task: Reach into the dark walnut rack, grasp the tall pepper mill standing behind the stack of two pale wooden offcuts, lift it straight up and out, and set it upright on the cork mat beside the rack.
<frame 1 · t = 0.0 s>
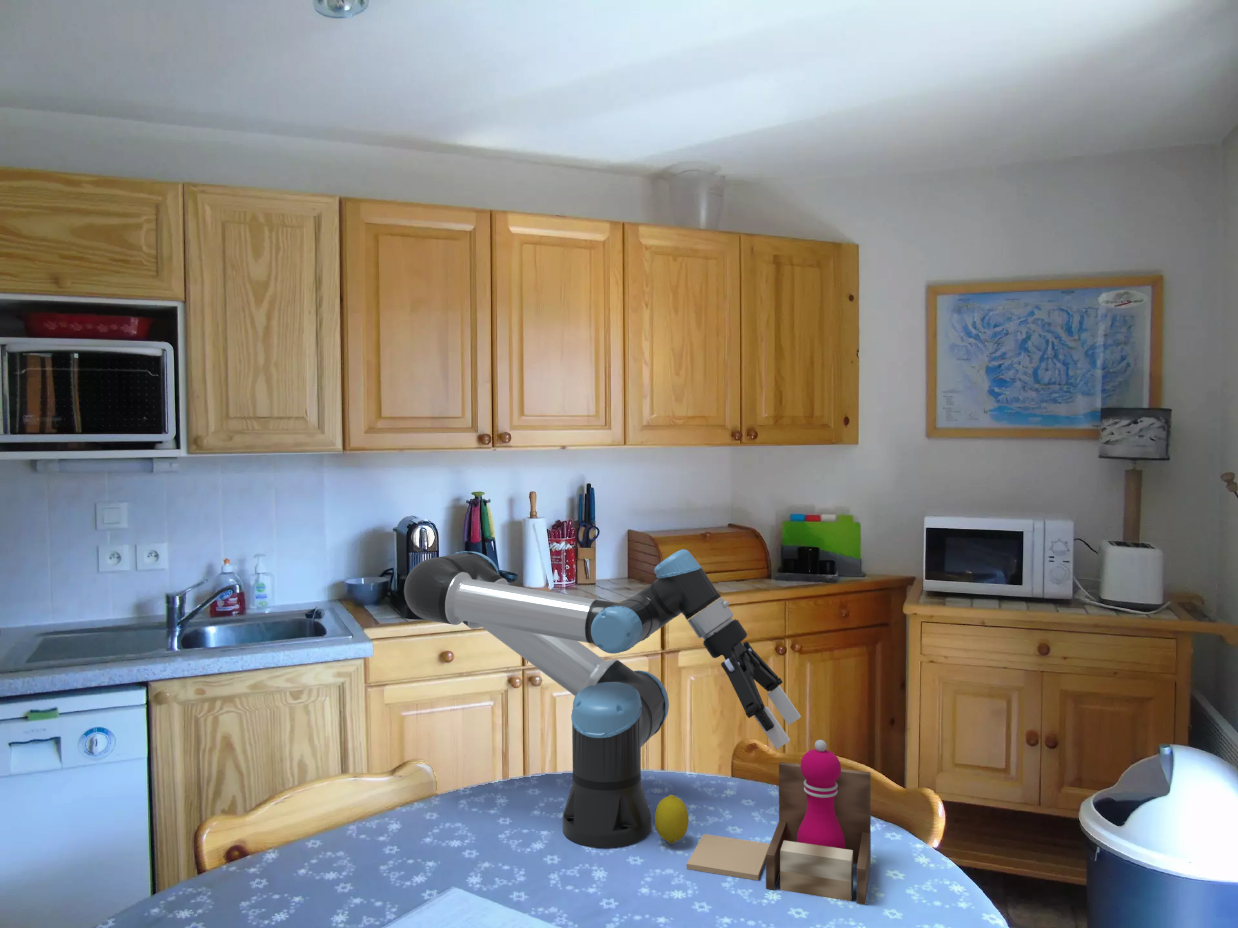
hand: (789, 732, 148), 15 cm above the table, tool tilted 35°, fingers open, 13 cm apart
rack: (820, 873, 128), on the table
offcut bottom: (816, 891, 124), on the table, touching offcut top
pepper mill: (820, 872, 129), resting in rack
lemon: (671, 844, 139), on the table
cork mat: (729, 858, 134), on the table
offcut top: (816, 870, 124), point 3 cm above the table, touching offcut bottom
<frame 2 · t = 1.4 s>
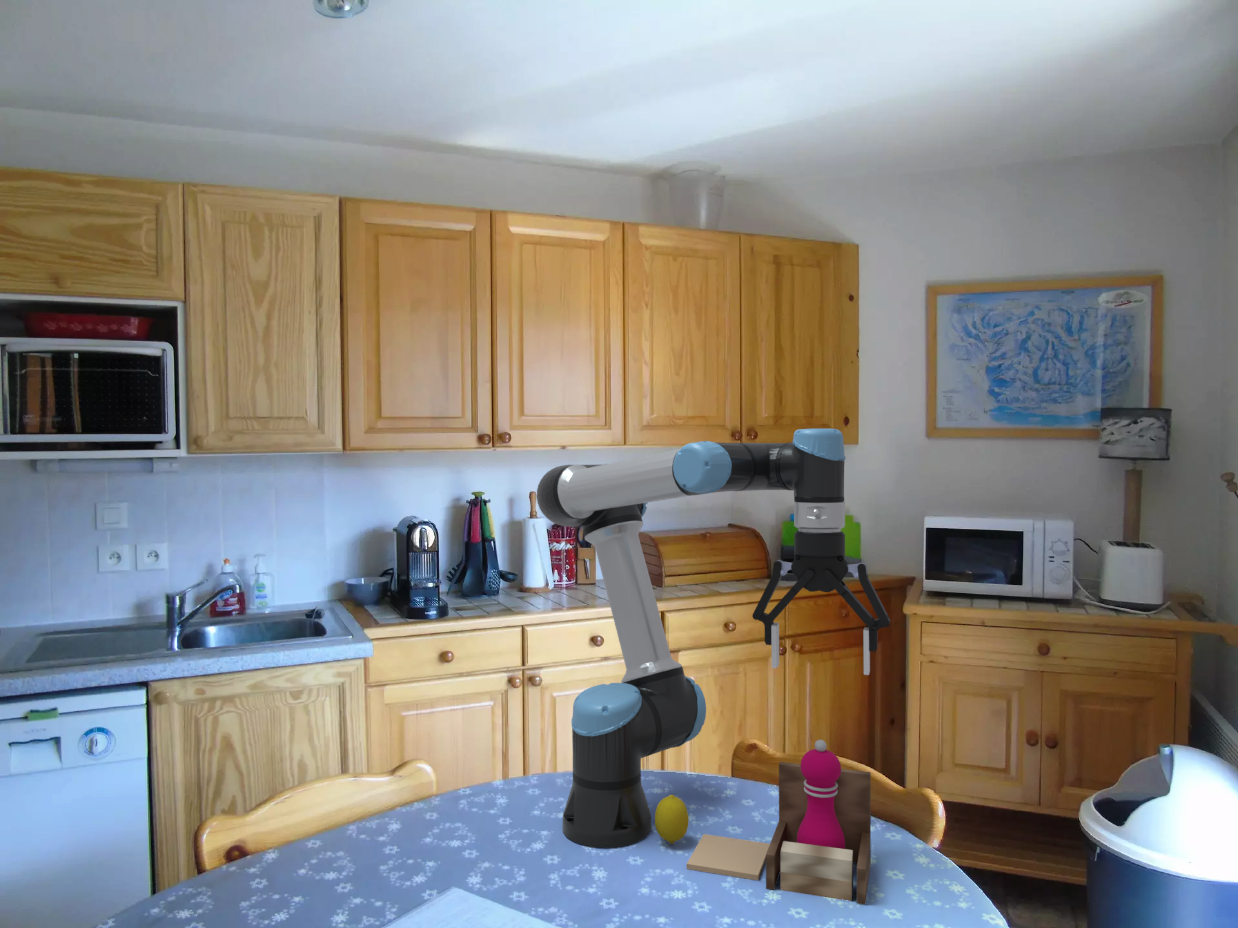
hand: (820, 669, 129), 31 cm above the table, tool pointing down, fingers open, 13 cm apart
nothing on the table moved.
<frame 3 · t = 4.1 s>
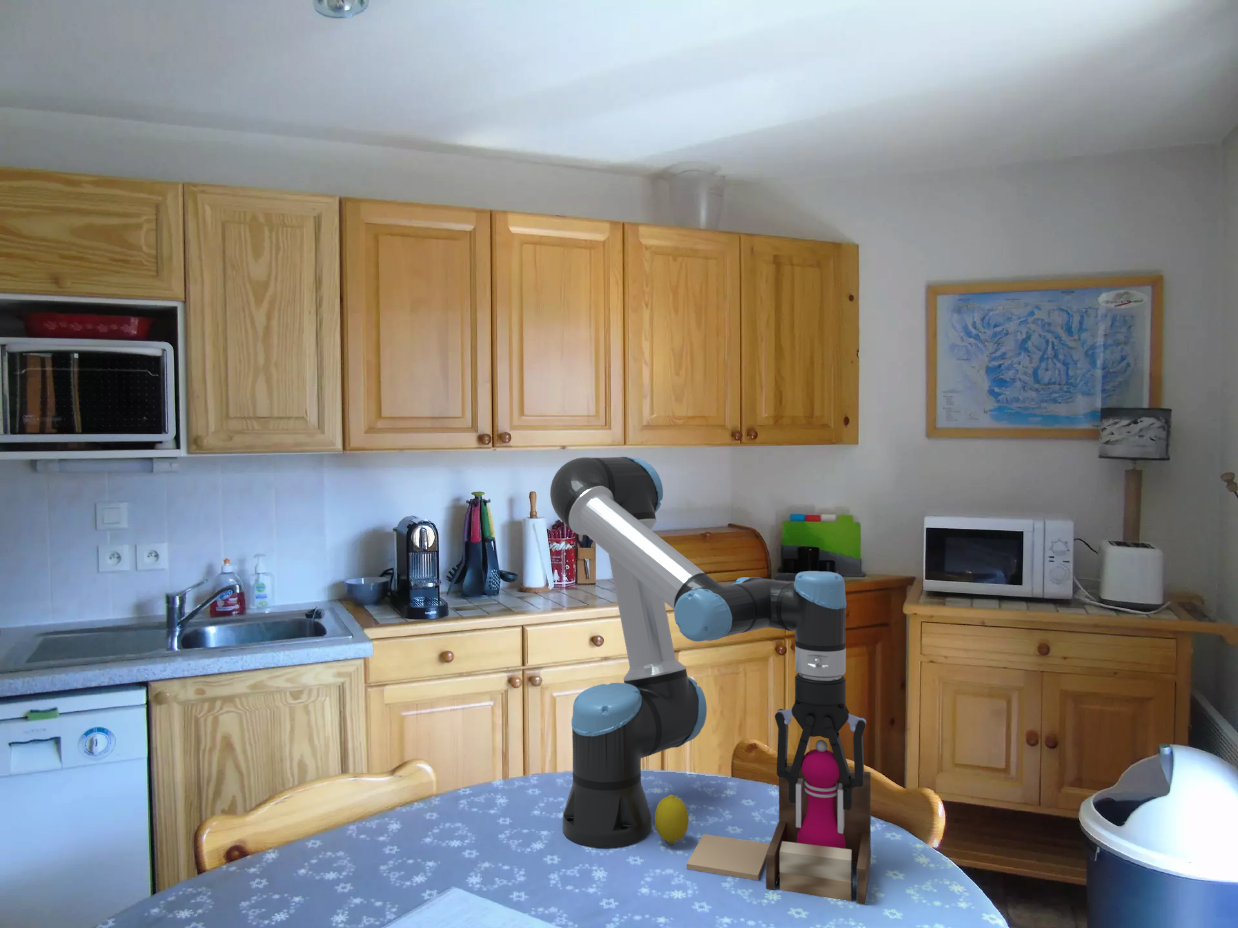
hand: (820, 826, 129), 7 cm above the table, tool pointing down, fingers closed on pepper mill, 5 cm apart
pepper mill: (820, 872, 129), resting in rack, touching gripper
everything else where it was.
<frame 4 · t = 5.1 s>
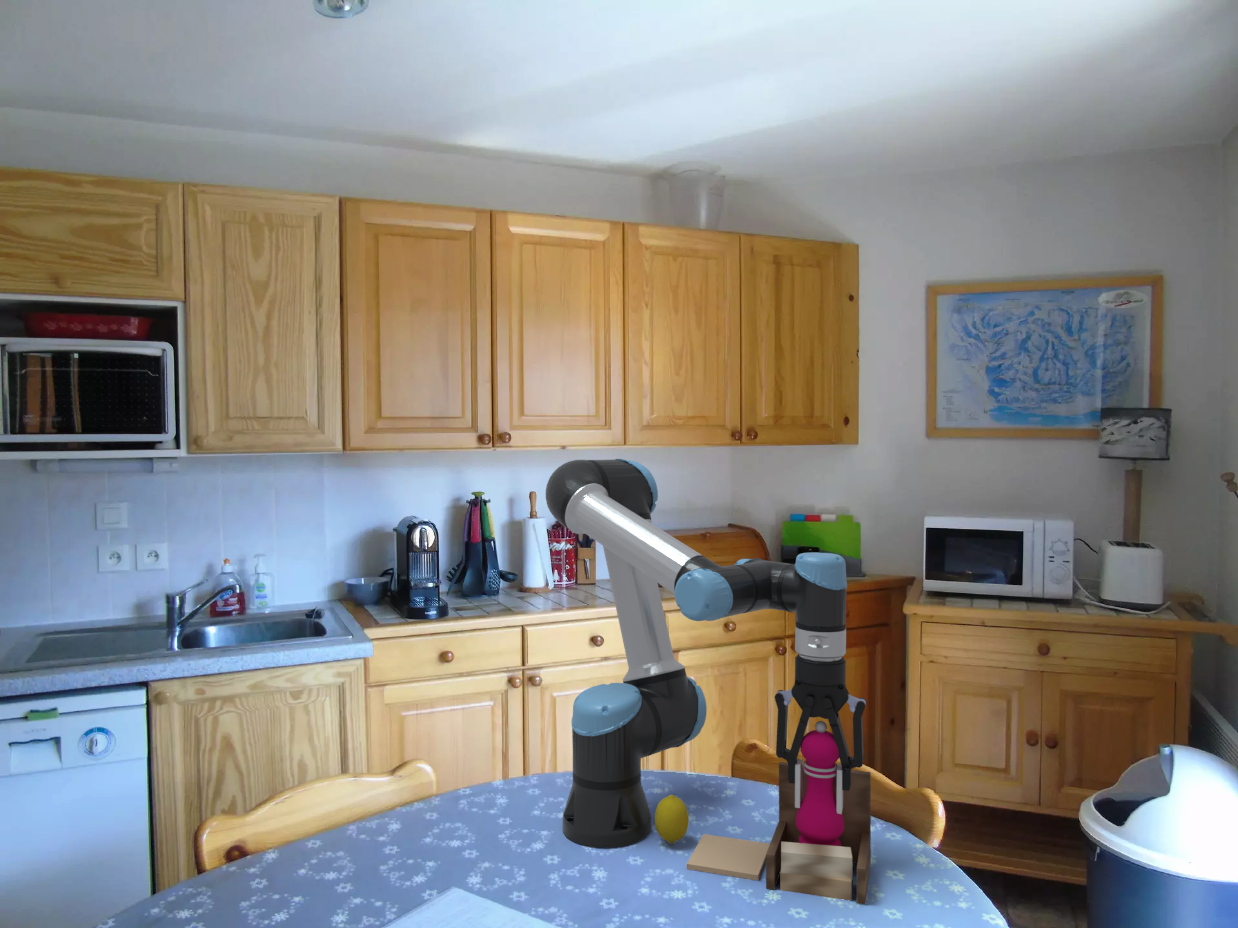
hand: (818, 806, 130), 10 cm above the table, tool pointing down, fingers closed on pepper mill, 5 cm apart
pepper mill: (819, 852, 130), point 3 cm above the table, touching gripper
everything else where it was.
when the fingers open (9 cm above the table, at t = 10.4 s): pepper mill drops 2 cm, resting on cork mat.
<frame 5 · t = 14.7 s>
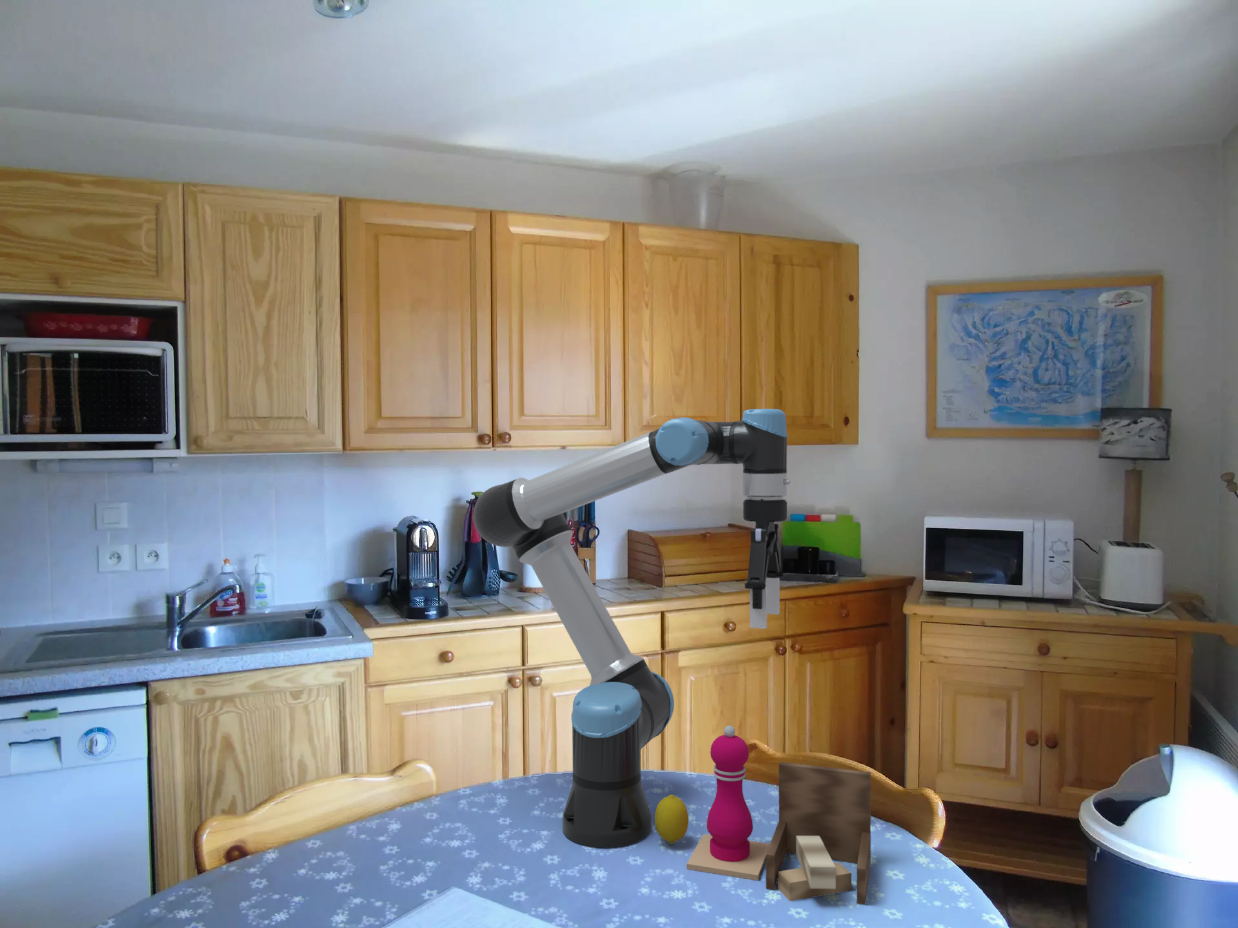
hand: (765, 620, 147), 35 cm above the table, tool pointing down, fingers open, 13 cm apart
pepper mill: (729, 853, 134), point 1 cm above the table, touching cork mat
at the end: pepper mill 0.3 cm off-centre on the cork mat, point 0.6 cm above the cork mat's base; pepper mill tilted 0°; offcut top moved 0.5 cm from its start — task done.
